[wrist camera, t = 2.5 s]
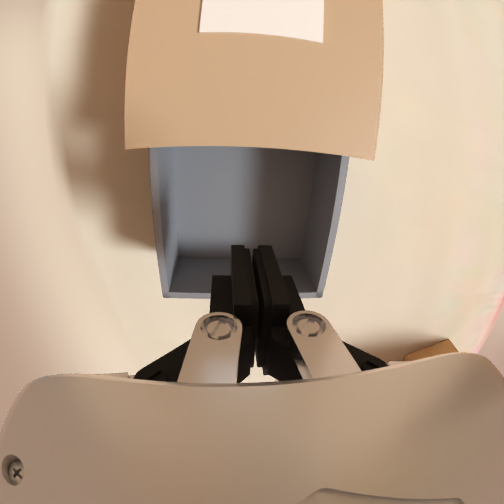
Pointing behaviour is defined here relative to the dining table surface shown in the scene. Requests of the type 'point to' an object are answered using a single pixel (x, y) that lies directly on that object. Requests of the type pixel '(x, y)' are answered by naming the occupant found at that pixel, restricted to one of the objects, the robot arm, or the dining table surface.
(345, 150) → the mailer sleeve
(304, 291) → the tray
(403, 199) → the dining table surface
